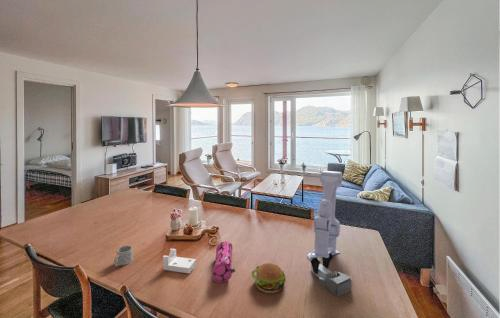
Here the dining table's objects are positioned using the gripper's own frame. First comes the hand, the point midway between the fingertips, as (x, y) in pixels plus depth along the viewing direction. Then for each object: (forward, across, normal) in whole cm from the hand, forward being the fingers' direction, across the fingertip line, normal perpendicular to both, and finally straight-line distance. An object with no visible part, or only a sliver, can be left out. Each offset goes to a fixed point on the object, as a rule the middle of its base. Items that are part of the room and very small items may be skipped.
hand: (320, 270), depth 104 cm
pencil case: (+2, -37, +24) cm, 44 cm away
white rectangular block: (+2, 0, 0) cm, 2 cm away
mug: (+2, -79, +52) cm, 94 cm away
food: (+2, -24, +6) cm, 25 cm away
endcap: (+2, 0, -10) cm, 10 cm away
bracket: (+2, -55, +34) cm, 65 cm away
